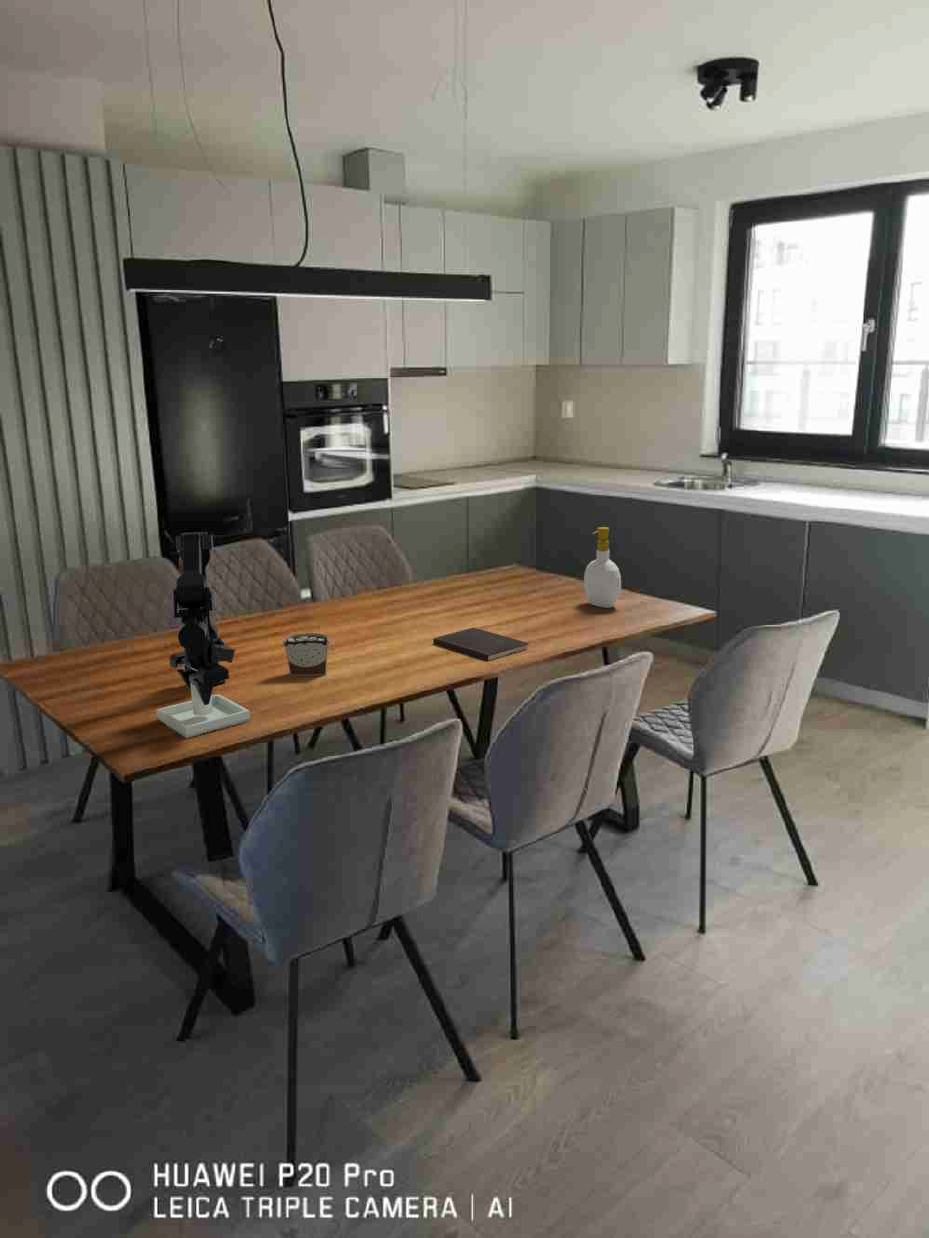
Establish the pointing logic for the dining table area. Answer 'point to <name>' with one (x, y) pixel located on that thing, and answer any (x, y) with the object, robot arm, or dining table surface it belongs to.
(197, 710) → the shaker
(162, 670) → the dining table surface
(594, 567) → the soap bottle
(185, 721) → the tray
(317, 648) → the food container
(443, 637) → the hardcover book
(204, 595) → the robot arm
